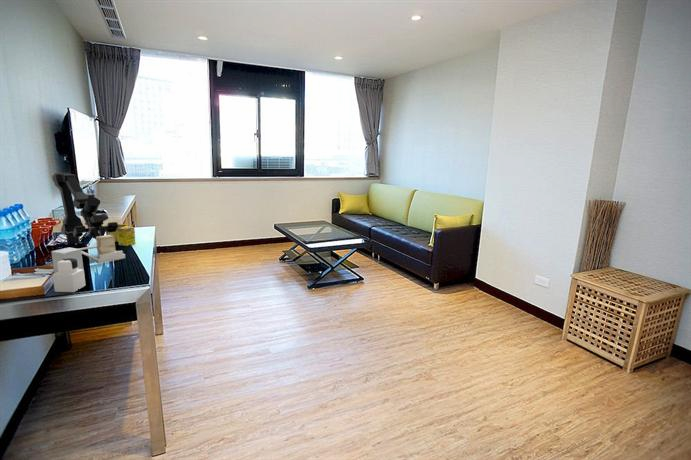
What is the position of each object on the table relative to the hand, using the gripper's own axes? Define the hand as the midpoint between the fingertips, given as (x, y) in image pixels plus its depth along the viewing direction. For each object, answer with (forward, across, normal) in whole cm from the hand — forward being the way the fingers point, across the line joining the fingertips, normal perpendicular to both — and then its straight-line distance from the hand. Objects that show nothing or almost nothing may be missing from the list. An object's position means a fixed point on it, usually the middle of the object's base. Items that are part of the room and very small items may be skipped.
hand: (103, 242), depth 175 cm
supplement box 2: (-4, +17, +15) cm, 23 cm away
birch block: (+6, 0, +2) cm, 7 cm away
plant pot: (-12, +18, +23) cm, 32 cm away
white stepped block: (+29, -26, -18) cm, 43 cm away
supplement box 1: (+20, -22, -10) cm, 32 cm away
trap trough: (+2, 0, +9) cm, 9 cm away
